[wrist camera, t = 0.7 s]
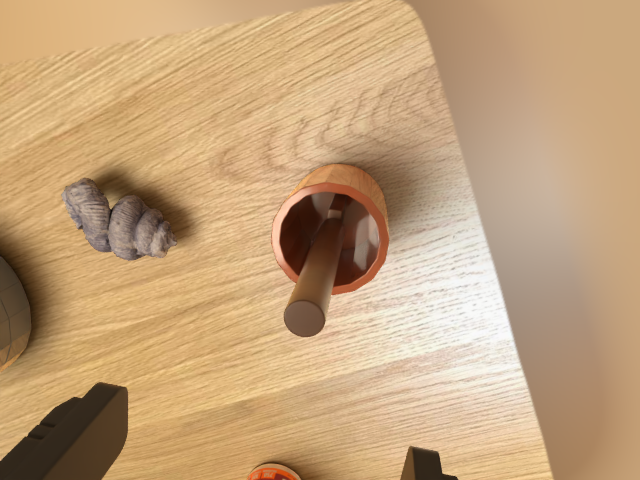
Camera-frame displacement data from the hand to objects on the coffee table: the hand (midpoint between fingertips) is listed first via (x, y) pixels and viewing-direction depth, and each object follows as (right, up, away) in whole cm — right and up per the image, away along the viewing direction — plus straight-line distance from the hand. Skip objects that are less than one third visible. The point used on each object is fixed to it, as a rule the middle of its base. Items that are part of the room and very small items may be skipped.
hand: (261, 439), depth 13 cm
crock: (+3, +8, +24) cm, 26 cm away
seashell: (-15, +8, +27) cm, 31 cm away
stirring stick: (+3, +8, +24) cm, 25 cm away
